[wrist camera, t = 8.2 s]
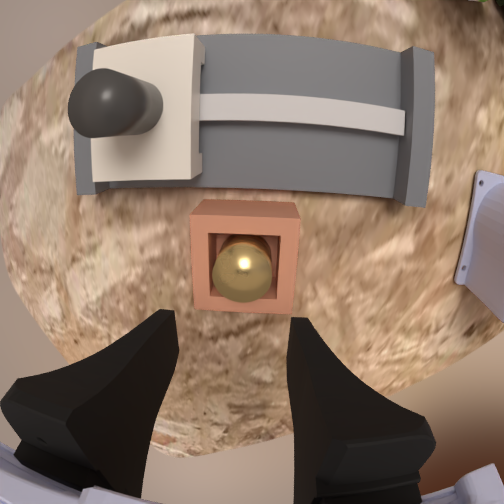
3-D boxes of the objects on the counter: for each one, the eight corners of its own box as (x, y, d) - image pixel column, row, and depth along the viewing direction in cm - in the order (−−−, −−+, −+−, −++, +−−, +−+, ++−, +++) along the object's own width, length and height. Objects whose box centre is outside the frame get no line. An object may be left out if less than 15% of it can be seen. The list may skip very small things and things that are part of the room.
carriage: (202, 172, 18) (164, 196, 12) (115, 174, 19) (47, 199, 12) (205, 47, 16) (170, 3, 9) (116, 58, 16) (49, 34, 9)
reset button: (270, 279, 20) (270, 304, 17) (220, 277, 20) (213, 301, 17) (272, 232, 19) (273, 250, 16) (219, 230, 19) (211, 247, 16)
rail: (406, 197, 20) (425, 207, 17) (98, 186, 20) (77, 195, 18) (413, 60, 16) (433, 52, 13) (99, 54, 17) (77, 47, 14)
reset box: (288, 284, 22) (291, 314, 19) (205, 280, 23) (194, 309, 19) (294, 202, 20) (300, 218, 17) (203, 199, 20) (189, 214, 17)
